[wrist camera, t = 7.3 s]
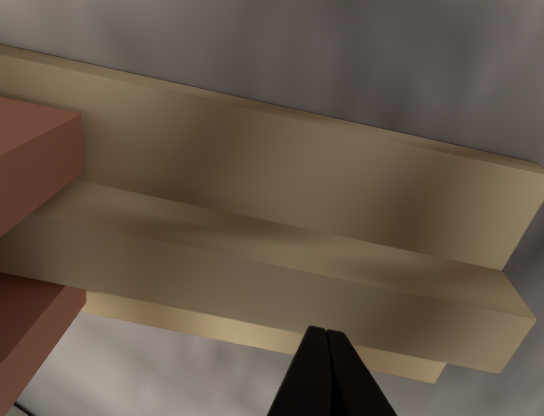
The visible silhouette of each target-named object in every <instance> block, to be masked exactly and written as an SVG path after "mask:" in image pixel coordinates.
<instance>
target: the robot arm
mask: <svg viewBox="0 0 544 416" xmlns="http://www.w3.org/2000/svg"><path fill="white" fill-rule="evenodd" d="M267 416H397V414H396V413H395V411H394V410H393V408H392V406H391V405H390V403H389V402H388V400H387V399H386V397H385V395H384V394H383V392H382V391H381V389H380V388H379V386H378V384H377V383H376V381H375V380H374V378H373V377H372V375H371V373H370V372H369V370H368V369H367V367H366V366H365V364H364V362H363V361H362V359H361V358H360V356H359V355H358V353H357V351H356V350H355V348H354V347H353V345H352V344H351V342H350V340H349V339H348V337H347V336H346V334H345V333H344V332H342V331H337V330H332V329H327V330H325V328H322V327H318V326H313V325H309V326H308V327H307V329H306V332H305V334H304V336H303V338H302V340H301V342H300V345H299V347H298V349H297V351H296V353H295V355H294V357H293V360H292V362H291V364H290V366H289V368H288V370H287V373H286V375H285V377H284V379H283V381H282V383H281V386H280V388H279V390H278V392H277V394H276V396H275V399H274V401H273V403H272V405H271V407H270V409H269V412H268V414H267Z"/></svg>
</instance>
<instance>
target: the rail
mask: <svg viewBox="0 0 544 416" xmlns="http://www.w3.org/2000/svg"><path fill="white" fill-rule="evenodd" d="M0 96H1V97H6V98H10V99H15V100H19V101H24V102H29V103H33V104H38V105H42V106H47V107H52V108H56V109H61V110H65V111H70V112H75V113H79V114H81V128H82V162H83V173H81V174H80V175H79V176H78V177H76V178H75V179H74V180H73V181H71V182H70V183H69V184H67V185H66V186H65V187H64V188H62V189H61V190H60V191H58V192H57V193H56V194H55V195H53V196H52V197H51V198H50V199H48V200H47V201H46V202H44V203H43V204H42V205H41V206H39V207H38V208H37V209H36V210H34V211H33V212H32V213H30V214H29V215H28V216H27V217H25V218H24V219H23V220H22V221H20V222H19V223H18V224H16V225H15V226H14V227H13V228H11V229H10V230H9V231H7V232H6V233H5V234H4V235H2V236H1V237H0V272H3V273H8V274H13V275H18V276H23V277H28V278H32V279H37V280H42V281H47V282H52V283H57V284H62V285H66V286H71V287H76V288H81V289H86V304H85V305H84V306H83V308H82V309H81V311H80V312H85V313H90V314H95V315H100V316H104V317H109V318H114V319H119V320H124V321H129V322H134V323H139V324H144V325H149V326H154V327H159V328H163V329H168V330H173V331H178V332H183V333H188V334H193V335H198V336H203V337H208V338H213V339H217V340H222V341H227V342H232V343H237V344H242V345H247V346H252V347H257V348H262V349H267V350H271V351H276V352H281V353H286V354H291V355H295V353H296V351H297V349H298V347H299V345H300V342H301V340H302V338H303V336H304V334H305V332H306V329H307V327H308V326H309V325H313V326H318V327H322V328H325V330H327V329H332V330H337V331H342V332H344V333H345V334H346V336H347V337H348V339H349V340H350V342H351V344H352V345H353V347H354V348H355V350H356V351H357V353H358V355H359V356H360V358H361V359H362V361H363V362H364V364H365V366H366V367H367V369H368V370H370V371H375V372H380V373H384V374H389V375H394V376H399V377H404V378H409V379H414V380H419V381H424V382H429V383H434V384H435V382H436V380H437V379H438V377H439V375H440V374H441V372H442V370H443V369H444V367H445V365H446V364H451V365H456V366H461V367H466V368H471V369H476V370H481V371H486V372H490V373H495V374H500V373H501V371H502V370H503V368H504V367H505V366H506V364H507V363H508V361H509V360H510V358H511V357H512V356H513V354H514V353H515V351H516V350H517V348H518V347H519V346H520V344H521V343H522V341H523V340H524V338H525V337H526V336H527V334H528V333H529V331H530V330H531V328H532V327H533V326H534V324H535V323H536V321H537V319H536V317H535V316H534V315H533V313H532V312H531V310H530V309H529V308H528V306H527V305H526V303H525V302H524V301H523V299H522V298H521V296H520V295H519V294H518V292H517V291H516V290H515V288H514V287H513V285H512V284H511V283H510V281H509V280H508V278H507V277H506V276H505V274H504V273H503V271H502V270H503V268H504V266H505V265H506V263H507V261H508V260H509V258H510V256H511V255H512V253H513V251H514V249H515V248H516V246H517V244H518V243H519V241H520V239H521V238H522V236H523V234H524V233H525V231H526V229H527V228H528V226H529V224H530V223H531V221H532V219H533V218H534V216H535V214H536V213H537V211H538V209H539V208H540V206H541V204H542V202H543V201H544V168H543V167H542V166H541V165H539V164H538V163H535V162H530V161H526V160H521V159H517V158H512V157H508V156H503V155H499V154H494V153H489V152H485V151H480V150H476V149H471V148H467V147H462V146H458V145H453V144H449V143H444V142H440V141H435V140H431V139H426V138H422V137H417V136H413V135H408V134H404V133H399V132H395V131H390V130H386V129H381V128H376V127H372V126H367V125H363V124H358V123H354V122H349V121H345V120H340V119H336V118H331V117H327V116H322V115H318V114H313V113H309V112H304V111H300V110H295V109H291V108H286V107H282V106H277V105H272V104H268V103H263V102H259V101H254V100H250V99H245V98H241V97H236V96H232V95H227V94H223V93H218V92H214V91H209V90H205V89H200V88H196V87H191V86H187V85H182V84H178V83H173V82H169V81H164V80H159V79H155V78H150V77H146V76H141V75H137V74H132V73H128V72H123V71H119V70H114V69H110V68H105V67H101V66H96V65H92V64H87V63H83V62H78V61H74V60H69V59H65V58H60V57H56V56H51V55H46V54H42V53H37V52H33V51H28V50H24V49H19V48H15V47H10V46H6V45H1V44H0Z"/></svg>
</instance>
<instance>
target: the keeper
mask: <svg viewBox="0 0 544 416" xmlns="http://www.w3.org/2000/svg"><path fill="white" fill-rule="evenodd" d="M81 173H83V162H82V128H81V114H79V113H75V112H70V111H65V110H61V109H56V108H52V107H47V106H42V105H38V104H33V103H29V102H24V101H19V100H15V99H10V98H6V97H1V96H0V237H1V236H2V235H4V234H5V233H6V232H7V231H9V230H10V229H11V228H13V227H14V226H15V225H16V224H18V223H19V222H20V221H22V220H23V219H24V218H25V217H27V216H28V215H29V214H30V213H32V212H33V211H34V210H36V209H37V208H38V207H39V206H41V205H42V204H43V203H44V202H46V201H47V200H48V199H50V198H51V197H52V196H53V195H55V194H56V193H57V192H58V191H60V190H61V189H62V188H64V187H65V186H66V185H67V184H69V183H70V182H71V181H73V180H74V179H75V178H76V177H78V176H79V175H80V174H81ZM85 304H86V289H81V288H76V287H71V286H66V285H62V284H57V283H52V282H47V281H42V280H37V279H32V278H28V277H23V276H18V275H13V274H8V273H3V272H0V416H5V415H6V413H7V412H8V411H9V409H10V408H11V406H12V405H13V404H14V402H15V401H16V400H17V398H18V397H19V395H20V394H21V393H22V391H23V390H24V388H25V387H26V386H27V384H28V383H29V381H30V380H31V379H32V377H33V376H34V374H35V373H36V372H37V370H38V369H39V368H40V366H41V365H42V363H43V362H44V361H45V359H46V358H47V356H48V355H49V354H50V352H51V351H52V349H53V348H54V347H55V345H56V344H57V343H58V341H59V340H60V338H61V337H62V336H63V334H64V333H65V331H66V330H67V329H68V327H69V326H70V324H71V323H72V322H73V320H74V319H75V317H76V316H77V315H78V313H79V312H80V311H81V309H82V308H83V306H84V305H85Z"/></svg>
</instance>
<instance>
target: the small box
mask: <svg viewBox="0 0 544 416" xmlns="http://www.w3.org/2000/svg"><path fill="white" fill-rule="evenodd" d="M5 416H29V415H27V414H26V413H24V412H23V411H21V410H20V409H18V408H17V407H16V406H14V405H12V406H11V408H10V409H9V411H8V412H7V413H6V415H5Z"/></svg>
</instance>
